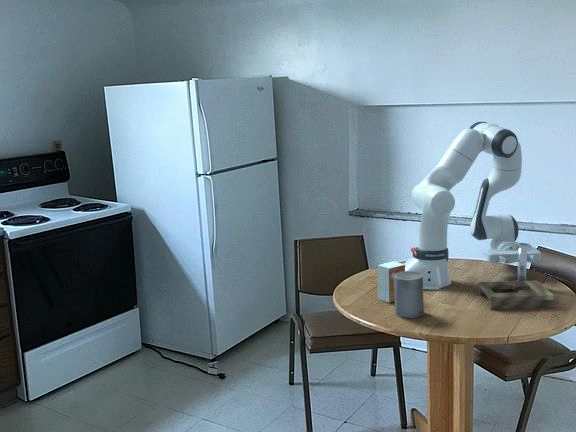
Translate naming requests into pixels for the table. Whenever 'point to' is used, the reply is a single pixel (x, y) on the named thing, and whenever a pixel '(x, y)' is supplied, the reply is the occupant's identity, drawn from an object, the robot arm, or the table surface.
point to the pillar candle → (408, 294)
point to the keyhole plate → (516, 295)
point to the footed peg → (522, 263)
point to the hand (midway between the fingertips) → (519, 261)
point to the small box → (388, 280)
